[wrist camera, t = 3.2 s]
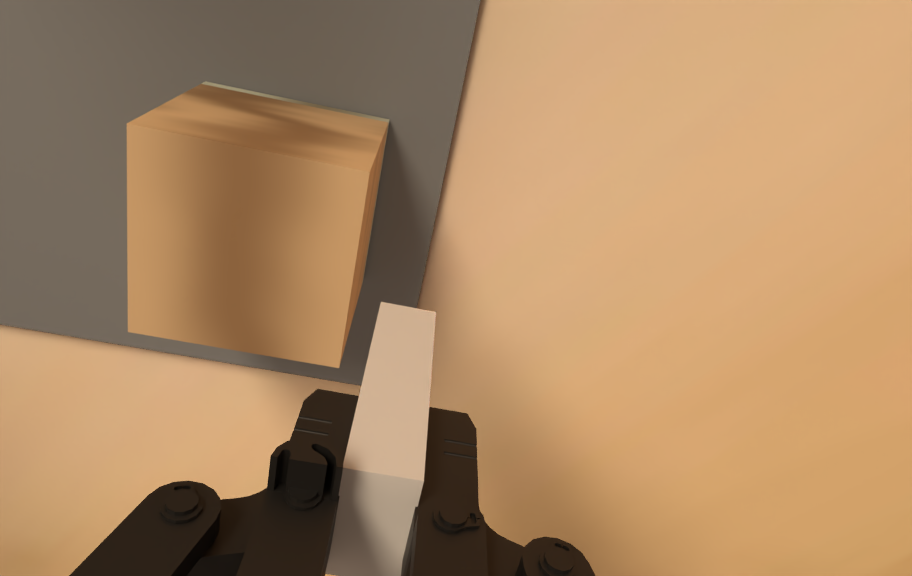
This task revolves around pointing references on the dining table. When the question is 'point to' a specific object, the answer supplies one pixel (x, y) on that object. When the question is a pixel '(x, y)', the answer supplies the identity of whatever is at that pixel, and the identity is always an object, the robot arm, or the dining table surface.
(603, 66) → the dining table surface
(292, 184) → the wooden block
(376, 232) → the slate mat
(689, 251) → the dining table surface
